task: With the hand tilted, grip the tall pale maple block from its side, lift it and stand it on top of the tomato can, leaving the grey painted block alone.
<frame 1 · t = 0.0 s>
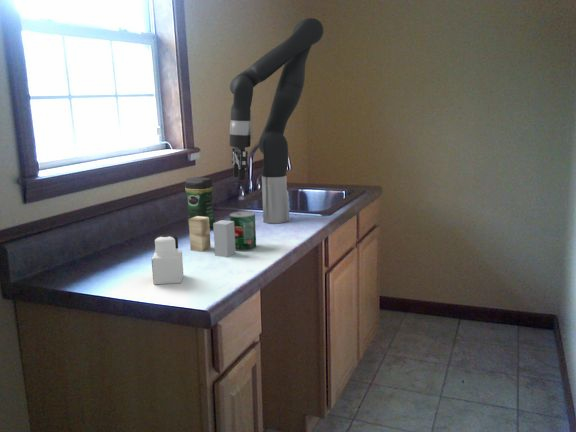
hand: (239, 178, 211), 17 cm above the worktop, tool pointing down, fingers open, 8 cm apart
coffee jar: (201, 228, 210), on the worktop
medicine bottle: (168, 280, 154), on the worktop
maple block: (200, 249, 183), on the worktop
grey block: (225, 254, 176), on the worktop
canned tomato: (243, 248, 183), on the worktop
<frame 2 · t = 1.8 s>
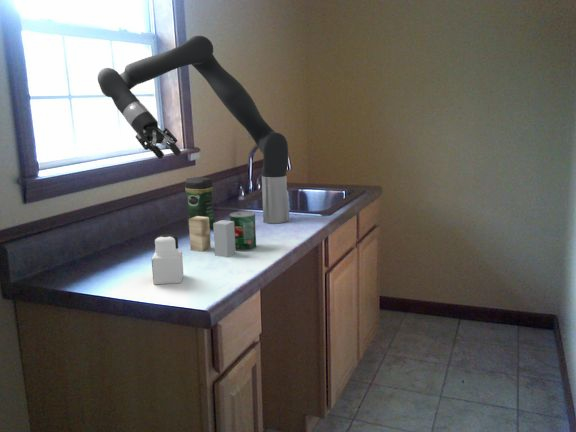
hand: (170, 155, 185), 29 cm above the worktop, tool tilted 45°, fingers open, 8 cm apart
nothing on the worktop moved.
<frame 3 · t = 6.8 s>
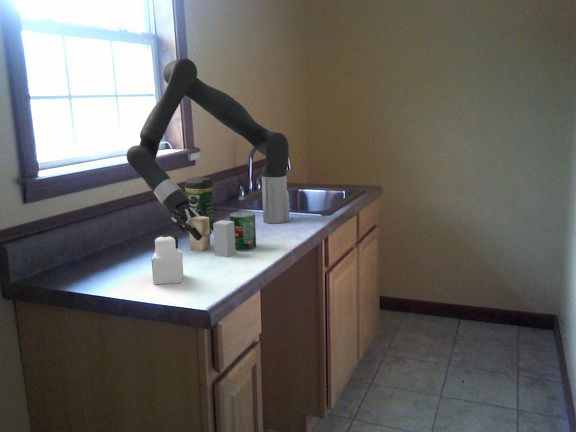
hand: (204, 236, 181), 4 cm above the worktop, tool tilted 45°, fingers closed on maple block, 4 cm apart
maple block: (200, 248, 183), on the worktop, touching gripper
everything else where it was.
when the fingers open (16 cm above the worktop, at t = 11.5 s): maple block stays where it is, resting on canned tomato.
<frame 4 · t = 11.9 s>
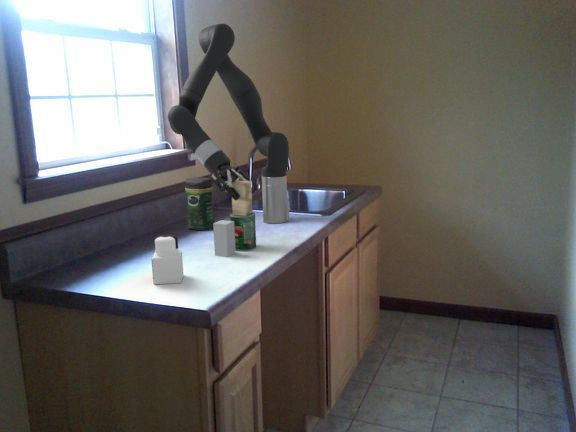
hand: (245, 196, 179), 17 cm above the worktop, tool tilted 45°, fingers open, 8 cm apart
maple block: (242, 213, 180), point 11 cm above the worktop, touching canned tomato
canned tomato: (243, 248, 183), on the worktop, touching maple block
everything else where it was.
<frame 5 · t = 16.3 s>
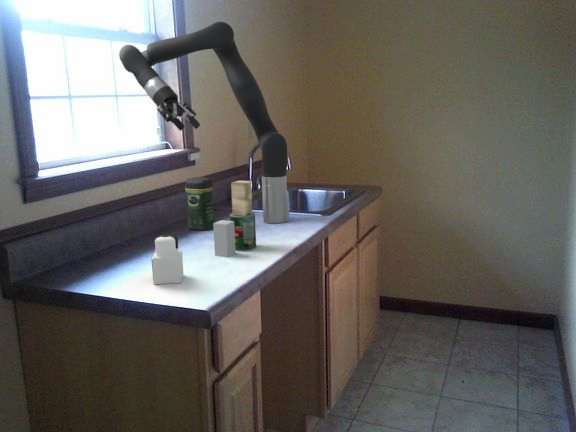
hand: (190, 127, 193), 37 cm above the worktop, tool tilted 45°, fingers open, 8 cm apart
nothing on the worktop moved.
at the end: maple block inside the target area on the canned tomato (0.0 cm from its centre), point 11.2 cm above the canned tomato's base; maple block tilted 0°; the gripper is holding nothing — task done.
